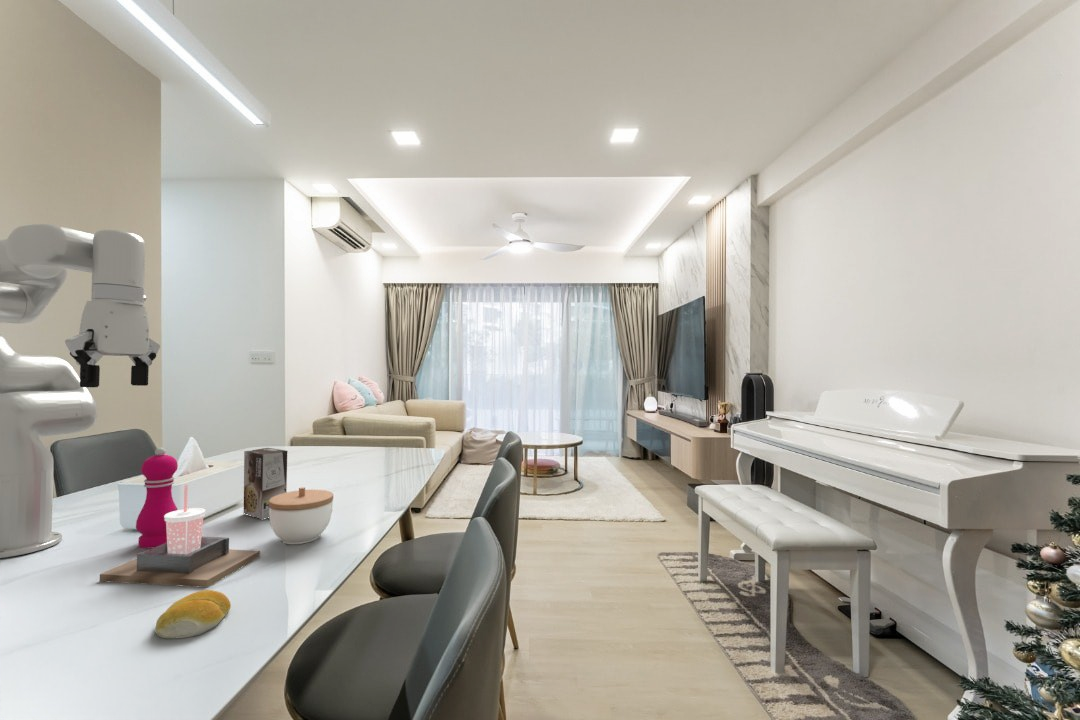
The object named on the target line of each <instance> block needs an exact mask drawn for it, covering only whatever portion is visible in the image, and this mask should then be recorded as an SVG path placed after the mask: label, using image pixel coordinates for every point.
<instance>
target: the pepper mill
mask: <svg viewBox="0 0 1080 720" xmlns="http://www.w3.org/2000/svg"><path fill="white" fill-rule="evenodd" d="M154 454H155V455H153V456H150V457H148V458H146V459H145V460H144V461H143V462H142V465H141V469H140V470H141V472H140V473H141V474H142V475H143V476H144V477H145V479H144V480H143V482H144V484H143V487H144V488H146V497H145V501H144V504H143V506H142V508H141V510H140V512H139V514H138V516H137V518H136V521H135V523H136V524H135V529H136V531H137V532H138V533H140V534H141V535H140V536H139V537H138V543H137V544H138V547H139V548H141V549H152V548H154V547H157V546H159V545H162V544H164V543H166V542H167V530H166V521H165V518H164V516H165V514H167V513H169V512H172V511H176V510H179V509H178V507H177V506H176V503H175V501H174V498H173V494H172V490H173V489H172V488H173V484H175V476H174V474H175V473H176V472H177V471H178V466H179V465H178V460H177V459H176V458H175V457H174V456H172V455H169V454H166V449H165V448H164V447H157V448H156V449H155V450H154Z"/></svg>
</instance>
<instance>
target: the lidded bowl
mask: <svg viewBox="0 0 1080 720" xmlns="http://www.w3.org/2000/svg"><path fill="white" fill-rule="evenodd" d="M333 501H334V493H333V492H331V491H330V490H326V489H325V490H324V489H306V487H305V486H301V487H299V488H298V490H294V491H286V493H282V494H279V495H276V496H274V497H272V498H270V500H269V518H268V519H269V524H270V527H271V530H272V532H273V533H274V535H275V536H276V537H277V538H279V540H281V542H282V543H283V544H286V545H294V546H295V545H302V544H303V545H304V544H308V543H310V542H315V541H316V540H318V539H319V538H320V536H321V534H322V533H323V532H324V531H325V530H326V528H327V527H328V526H329V524H330V522H331V517H332V513H333Z"/></svg>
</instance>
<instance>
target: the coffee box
mask: <svg viewBox="0 0 1080 720" xmlns="http://www.w3.org/2000/svg"><path fill="white" fill-rule="evenodd" d="M243 456H244V457H243V458H244V459H243V514H244V513H245V514H248V515H251V516H254V517H257V518H260V519H264V518H268V517H269V500H270V498H272V497H274V496H276V495H279V494H282V493H286V492H287V489H288V488H287V485H288V484H287V483H288V481H287V480H288V479H287V478H288V450H286V449H280V448H272V447H264V448H258V449H251V450H245V451H244V455H243ZM251 516H250V517H251ZM254 517H253V518H254ZM257 518H256V519H257ZM260 519H259V520H260ZM268 519H269V518H268ZM264 520H265V519H264Z"/></svg>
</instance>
